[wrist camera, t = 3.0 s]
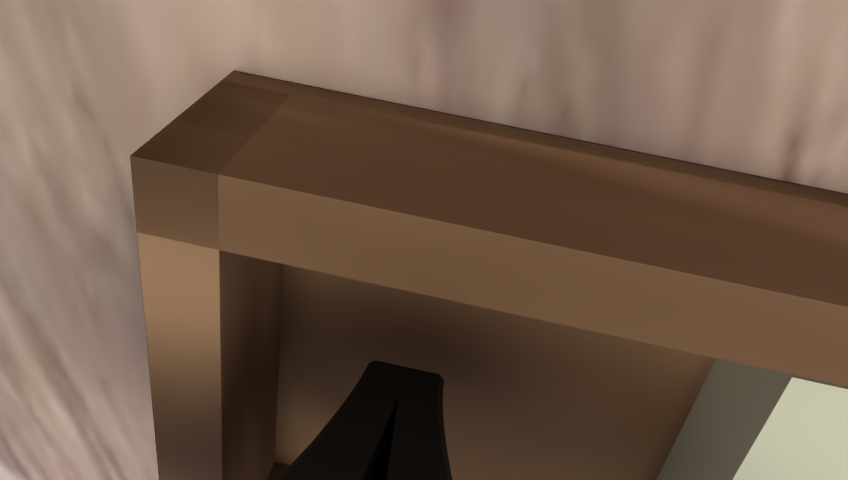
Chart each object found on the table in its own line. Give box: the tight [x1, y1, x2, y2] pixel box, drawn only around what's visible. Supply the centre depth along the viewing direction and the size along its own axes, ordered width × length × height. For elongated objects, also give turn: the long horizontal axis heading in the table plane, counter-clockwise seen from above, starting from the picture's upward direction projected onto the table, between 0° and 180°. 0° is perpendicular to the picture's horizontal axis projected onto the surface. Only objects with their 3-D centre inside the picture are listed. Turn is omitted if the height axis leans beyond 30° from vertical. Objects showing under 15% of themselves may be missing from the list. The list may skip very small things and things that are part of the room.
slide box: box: [130, 71, 848, 480], centre depth 13 cm, size 10×18×4 cm, turn 82°
